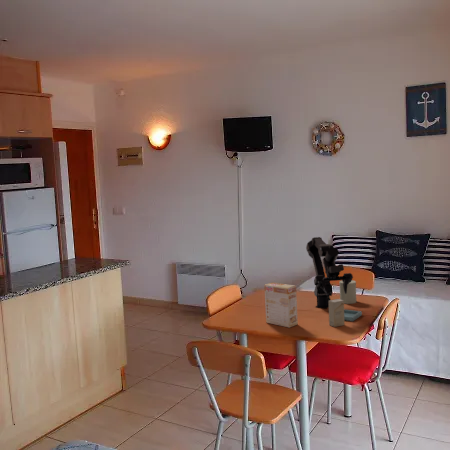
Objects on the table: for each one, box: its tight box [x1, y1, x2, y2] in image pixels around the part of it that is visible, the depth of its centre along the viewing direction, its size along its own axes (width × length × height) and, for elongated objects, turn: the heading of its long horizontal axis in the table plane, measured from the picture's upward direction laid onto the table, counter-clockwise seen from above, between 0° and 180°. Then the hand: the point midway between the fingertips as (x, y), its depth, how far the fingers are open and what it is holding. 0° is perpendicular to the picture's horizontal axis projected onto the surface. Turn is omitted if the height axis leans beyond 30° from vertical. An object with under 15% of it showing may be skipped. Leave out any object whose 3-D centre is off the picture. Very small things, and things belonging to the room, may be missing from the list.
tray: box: [344, 308, 363, 322], centre depth 259 cm, size 12×12×2 cm
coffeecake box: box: [264, 282, 298, 328], centre depth 253 cm, size 15×7×20 cm, turn 44°
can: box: [338, 279, 358, 305], centre depth 287 cm, size 9×9×12 cm
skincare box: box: [328, 298, 346, 328], centre depth 246 cm, size 6×4×12 cm
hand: (336, 294), depth 254 cm, fingers open, 9 cm apart
